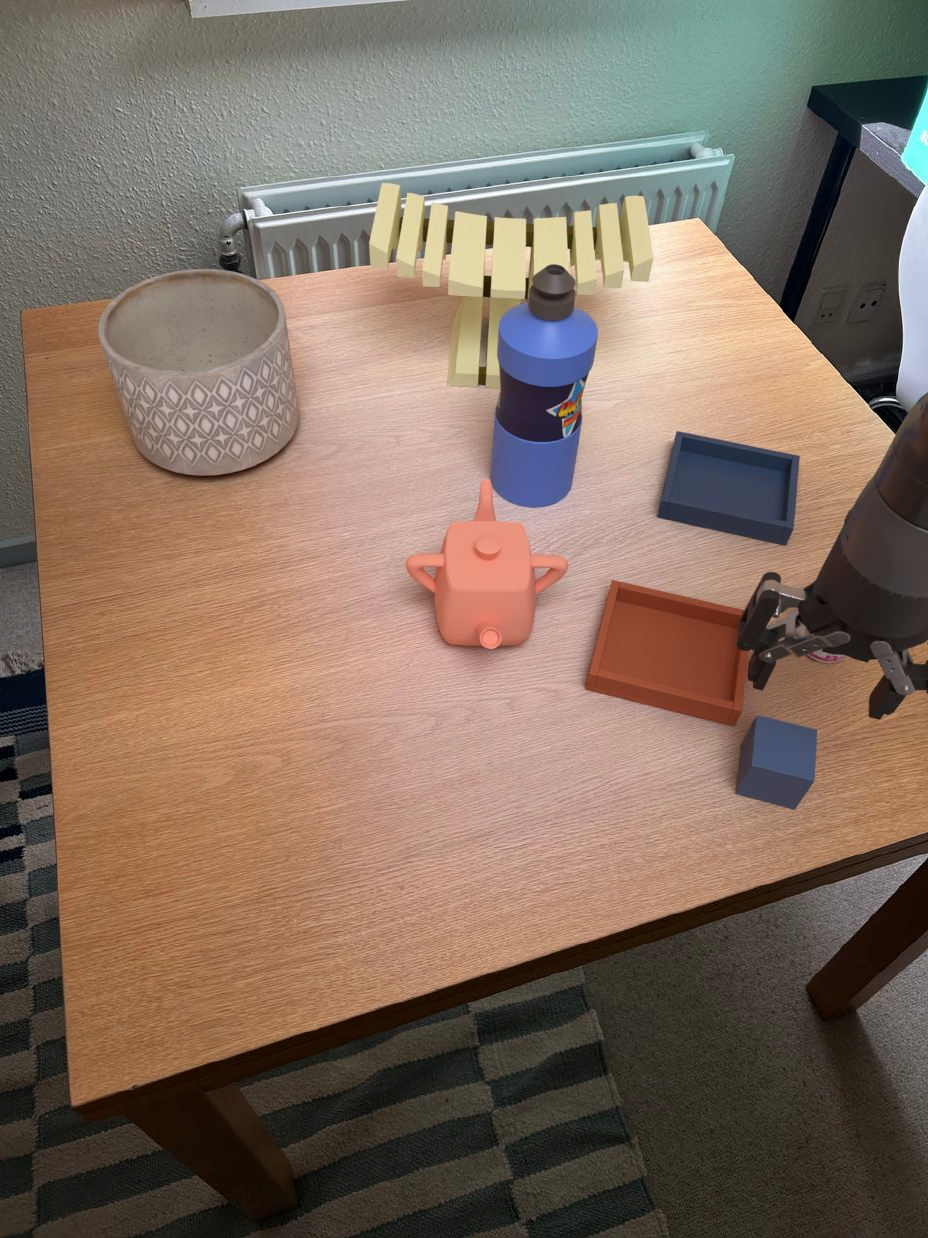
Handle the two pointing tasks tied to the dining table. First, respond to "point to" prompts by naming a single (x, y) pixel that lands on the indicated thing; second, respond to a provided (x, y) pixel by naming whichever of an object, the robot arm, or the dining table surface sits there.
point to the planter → (202, 370)
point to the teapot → (485, 579)
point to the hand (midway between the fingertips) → (815, 694)
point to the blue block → (777, 762)
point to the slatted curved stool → (504, 262)
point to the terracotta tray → (670, 653)
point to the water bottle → (541, 391)
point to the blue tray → (731, 488)
